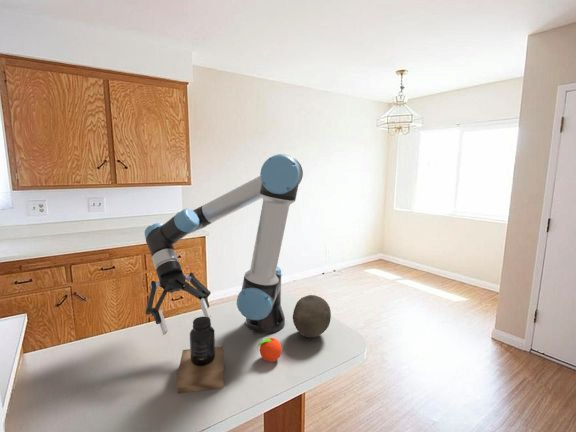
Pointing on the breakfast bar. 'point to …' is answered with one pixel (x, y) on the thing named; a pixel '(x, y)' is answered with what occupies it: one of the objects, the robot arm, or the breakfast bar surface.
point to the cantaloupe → (311, 316)
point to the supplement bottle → (202, 342)
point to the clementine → (270, 349)
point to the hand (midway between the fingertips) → (188, 325)
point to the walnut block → (200, 373)
